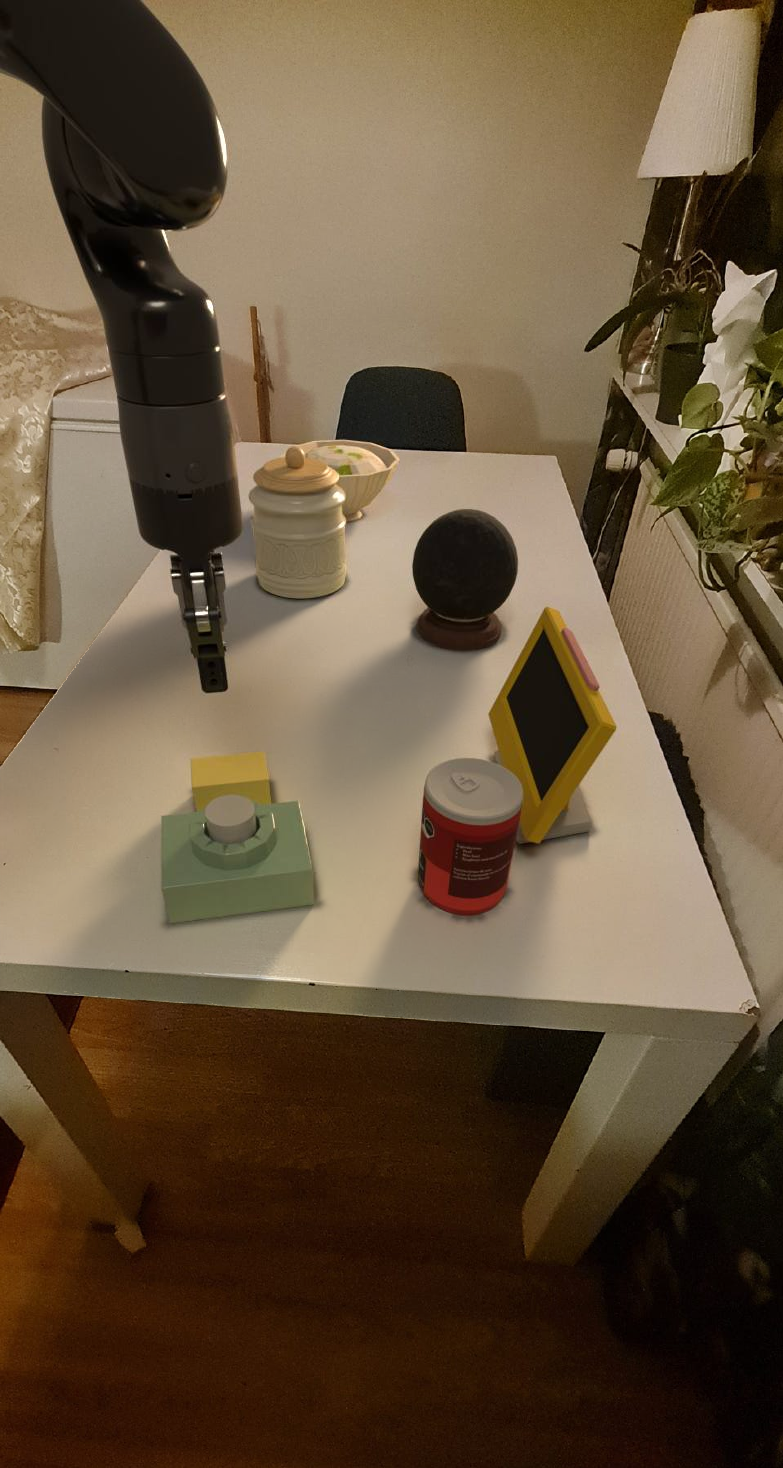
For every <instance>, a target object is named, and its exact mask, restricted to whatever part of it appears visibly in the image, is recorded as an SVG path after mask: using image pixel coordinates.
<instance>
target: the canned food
mask: <svg viewBox="0 0 783 1468" xmlns="http://www.w3.org/2000/svg"><path fill="white" fill-rule="evenodd" d="M422 796H423V797H422V807H421V821H420V835H419V836H420V837H419V852H418V867H417V879H418V882H419V885H420V888H421V891H422V893H423V894H424V897H426V899H427V900H428V901H429V902H430V903H432V904H433V905H434V906H435V907H437V908H438V909H440V910H443V911H445V912H449V913H451V914H455V915H461V916H462V915H463V916H471V915H479V914H483V913H486V912H488V911H490V910H492V909H493V908H494V907H496V906H497V905H498V904H499V902H500V901H501V900H502V898H503V897H504V895H505V892H506V890H507V886H508V882H509V876H510V871H511V867H512V861H513V856H514V851H515V845H516V842H517V839H516V836H517V831H518V826H519V821H520V816H521V809H522V803H523V789H522V785H521V783H520V782H519V780H518V779H517V778H516V776H515V775H514V774H513V773H511V772H510V771H509V770H507V769H506V768H504V767H502V766H501V765H498V764H496V763H495V762H493V761H490V760H486V759H483V758H476V757H457V758H452V759H448V760H445V761H442V762H439V763H438V764H437V765H435V766H433V767H432V768H431V769H430V770H429V771H428V773H427V775H426V777H425V782H424V786H423V795H422Z"/></svg>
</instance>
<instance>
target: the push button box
mask: <svg viewBox="0 0 783 1468" xmlns="http://www.w3.org/2000/svg"><path fill="white" fill-rule="evenodd" d="M251 802H252V803H253V805H254V808H255V816H256V824H257V829H256V832H255V834H254V835H253V836H252V837H251V838H250V839H248V840H246V841H244V842H242V843H236V844H228V845H226V844H222V843H218V842H215V841H214V840H212V839H211V838H210V836H209V834H208V829H207V824H206V818H205V808H206V807H205V808H203V809H201V810H199V812H196V811H192V812H184V813H175V814H174V813H173V814H165V815H161V824H160V825H161V826H160V827H161V828H160V829H161V830H160V831H161V832H160V833H161V834H160V835H161V837H160V839H161V845H160V846H161V853H160V854H161V862H160V866H161V867H160V869H161V870H160V875H161V876H160V877H161V878H160V880H161V881H160V883H161V884H160V888H161V892H162V896H163V901H164V904H165V907H166V908H165V909H166V913H167V916H168V919H169V923H170V924H177V923H183V922H190V921H199V920H206V919H214V918H215V919H216V918H221V917H230V916H237V915H243V914H251V913H252V914H253V913H261V912H266V911H267V912H268V911H274V910H282V909H290V908H298V907H304V906H310V905H315V889H314V875H313V874H314V873H313V871H314V870H313V864H312V860H311V855H310V849H309V844H308V840H307V835H306V830H305V824H304V819H303V814H302V810H301V805H300V801H299V800H292V801H284V802H275V803H271V804H264V805H261V804H260V803H257V802H253V801H251Z"/></svg>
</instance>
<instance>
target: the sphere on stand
mask: <svg viewBox="0 0 783 1468" xmlns="http://www.w3.org/2000/svg"><path fill="white" fill-rule="evenodd" d="M411 568H412V578H413V582H414V586H415V589H416V591H417V593H418V596H419V598H420V599H421V601H422V602H423V603H424V604H425V606H426V608H425V609H424V610H423V612H422V613H421V614H420V615H419V617H417V619H416V620H417V621H416V632H417V634H418V635H419V637H420V638H422V640H424V641H425V642H427V643H428V644H431V645H433V646H435V647H438V648H441V649H444V650H451V651H464V652H465V651H475V650H481V649H485V648H489V647H490V646H493V645H494V644H495V643H497V642H498V641H499V640H500V638H501V636H502V631H503V630H502V629H503V627H502V623H501V621H500V620H499V619H498V615H496V613H495V612H496V611H497V610H498V609H499V608H500V607H502V605H503V604H504V603H505V602H506V601H507V600H508V598H509V597H510V595H511V593H512V591H513V588H514V586H515V585H516V581H517V577H518V570H519V557H518V551H517V545H516V544H515V540H514V538H513V537H512V535H511V533H510V532H509V530H508V528H507V526H505V525H504V524H503V523H502V522H501V521H499V520H498V518H496V517H495V516H493V515H491V514H489V513H488V512H485V511H482V510H479V509H472V508H461V509H460V508H459V509H455V510H451V511H449V512H446V513H444V514H442V515H441V516H438V517H437V518H435V519H434V520H433V521H432V522H431V523H430V524H429V525H428V526H427V527H426V528H425V530H424V531H423V533H422V534H421V535H420V538H419V539H418V541H417V543H416V546H415V549H414V552H413V558H412V564H411Z"/></svg>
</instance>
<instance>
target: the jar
mask: <svg viewBox="0 0 783 1468" xmlns="http://www.w3.org/2000/svg"><path fill="white" fill-rule="evenodd" d="M292 446H293V447H292ZM292 446H290V447H288V448H287V450H286V451H285V452H286V454H285V457H283V458H282V457H278V458H274V459H273V458H272V459H271V460H268V461H267V462H265V463H264V464H263V466H261V467H260V468H258V469H257V470H256V471H255V472H254V473H253V476H252V479H253V482H254V483H255V484H256V485H255V486H253V487H252V489H250V490H249V493H248V501H249V502H250V503H251V504H252V505H253V515H252V516H251V519H250V524H251V527H252V532H253V533H252V534H253V542H254V543H253V544H254V554H255V555H254V556H255V564H254V567H255V575H256V577H257V580H258V585H259V586H260V587H261V588H262V589H263V590H265V591H266V592H268V593H269V594H272V595H275V596H279V597H283V598H287V599H288V598H289V599H314V598H321V597H324V596H327V595H330V594H332V593H334V592H336V591H338V590H339V589H340V588H342V587H343V586H344V584H345V582H346V575H347V565H348V564H347V561H346V525H347V522H346V519H345V517H344V515H343V514H342V504H343V502H344V501H345V498H346V495H345V492H344V491H343V489H342V488H340V487H339V486H338V485H337V484H336V483H337V482H338V480H339V475H338V473H337V472H336V471H335V470H334V469H332V468H330V467H328V465H327V464H326V463H325V462H323V461H321V460H318V459H314V458H308V457H305V454H304V452H303V450H302V449H301V448H299V447H296V445H292Z"/></svg>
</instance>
